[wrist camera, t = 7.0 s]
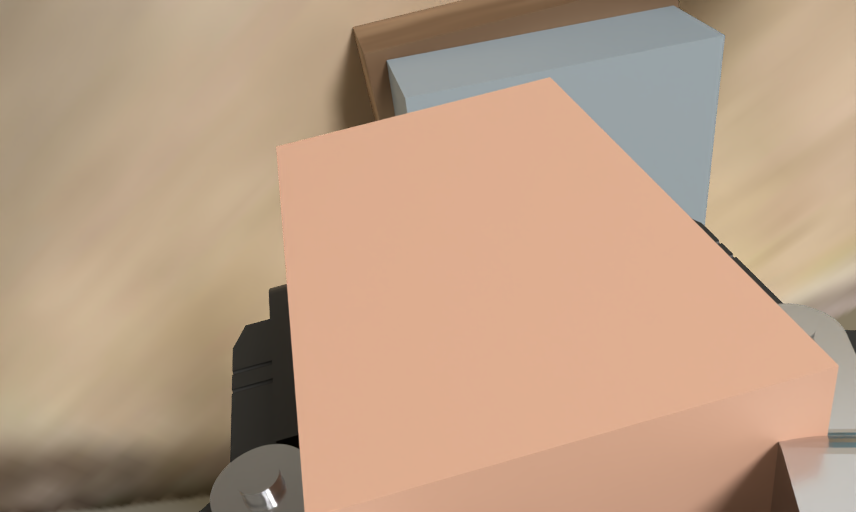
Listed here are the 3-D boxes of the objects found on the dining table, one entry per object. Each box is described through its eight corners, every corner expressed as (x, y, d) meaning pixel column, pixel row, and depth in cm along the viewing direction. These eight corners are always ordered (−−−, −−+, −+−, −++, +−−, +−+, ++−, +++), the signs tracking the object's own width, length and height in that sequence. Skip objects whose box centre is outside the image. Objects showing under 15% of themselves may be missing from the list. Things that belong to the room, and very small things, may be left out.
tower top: (386, 60, 30) (405, 98, 27) (673, 5, 31) (725, 35, 28) (423, 299, 37) (441, 353, 33) (657, 246, 38) (697, 293, 35)
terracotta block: (276, 146, 13) (304, 519, 7) (550, 77, 14) (838, 366, 7) (344, 358, 16) (413, 769, 9) (570, 296, 16) (791, 651, 10)
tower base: (351, 24, 33) (364, 54, 30) (636, -46, 34) (678, -25, 30) (408, 263, 40) (423, 308, 37) (640, 201, 41) (675, 239, 38)
